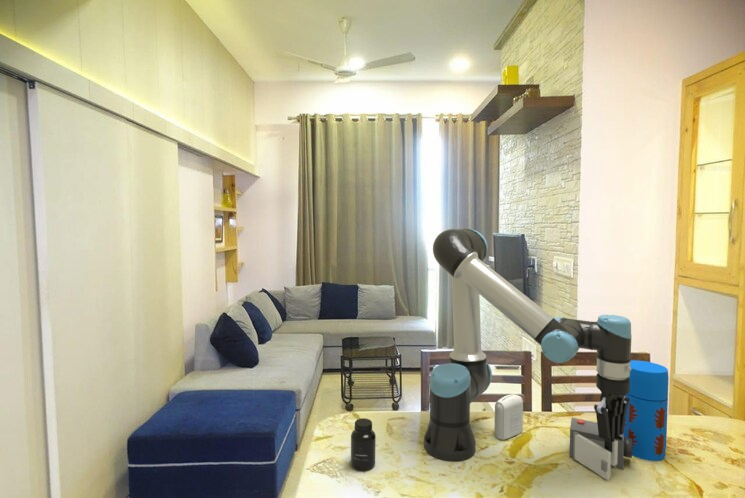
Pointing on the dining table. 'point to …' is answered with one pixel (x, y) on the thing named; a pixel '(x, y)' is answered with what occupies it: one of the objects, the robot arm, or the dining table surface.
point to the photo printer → (508, 416)
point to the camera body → (599, 439)
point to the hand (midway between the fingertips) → (610, 462)
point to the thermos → (647, 410)
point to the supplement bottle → (363, 445)
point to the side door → (591, 455)
